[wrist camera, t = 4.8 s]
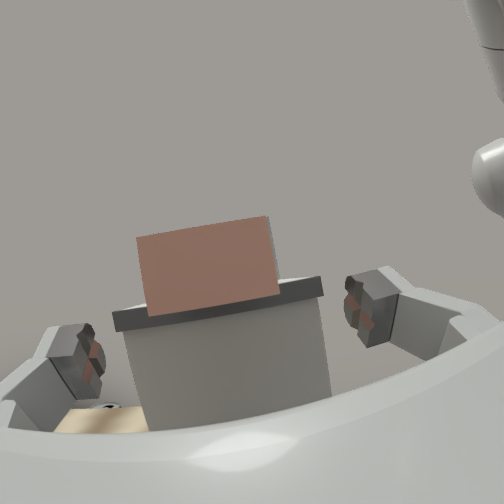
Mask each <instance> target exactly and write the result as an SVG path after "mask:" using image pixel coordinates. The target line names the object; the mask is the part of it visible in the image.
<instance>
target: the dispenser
mask: <svg viewBox="0 0 504 504" xmlns="http://www.w3.org/2000/svg"><path fill="white" fill-rule="evenodd" d="M266 220H267V225H268V230H269V236H270V241H271V246H272V252H273V257H274V262H275V268H276V273H277V279H278V284H279V290H280V294H277V295H272V296H267V297H262V298H256V299H251V300H246V301H240V302H235V303H229V304H223V305H218V306H212V307H206V308H200V309H194V310H188V311H182V312H176V313H169V314H163V315H156V316H150V317H149V316H148V310H147V305H146V304H142V305H138V306H134V307H130V308H127V309H123V310H119V311H114V312H112V315H113V320H114V325H115V330H116V332H121V331H123V335H124V340H125V345H126V349H127V353H128V358H129V362H130V366H131V370H132V374H133V378H134V381H135V385H136V389H137V392H138V396H139V400H140V403H141V406H142V410H143V413H144V416H145V419H146V423H147V426H148V429H149V432H150V431H162V430H173V429H182V428H190V427H198V426H205V425H211V424H218V423H224V422H230V421H235V420H240V419H246V418H251V417H255V416H260V415H265V414H269V413H274V412H278V411H282V410H286V409H290V408H294V407H298V406H302V405H305V404H309V403H312V402H316V401H319V400H323V399H326V398H329V397H332V394H331V386H330V379H329V371H328V364H327V357H326V350H325V343H324V337H323V330H322V324H321V317H320V311H319V305H318V300H317V297H320V296H324V294H323V289H322V283H321V277H320V276H315V277H306V278H294V279H281V280H280V275H279V270H278V265H277V259H276V254H275V249H274V243H273V238H272V232H271V227H270V222H269V217H266Z"/></svg>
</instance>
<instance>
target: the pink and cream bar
mask: <svg viewBox="0 0 504 504" xmlns="http://www.w3.org/2000/svg"><path fill="white" fill-rule="evenodd" d="M136 239H137V247H138V254H139V262H140V268H141V274H142V281H143V288H144V294H145V299H146V305H147V310H148V316H149V317H150V316H156V315H163V314H169V313H176V312H182V311H188V310H194V309H200V308H206V307H212V306H218V305H223V304H229V303H235V302H240V301H246V300H251V299H256V298H262V297H267V296H272V295H277V294H280V290H279V284H278V279H277V273H276V268H275V262H274V257H273V252H272V246H271V241H270V236H269V230H268V225H267V220H266V216H261V217H254V218H248V219H241V220H235V221H229V222H223V223H217V224H211V225H205V226H199V227H193V228H187V229H181V230H175V231H170V232H164V233H159V234H153V235H148V236H142V237H137V238H136Z"/></svg>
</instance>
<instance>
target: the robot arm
mask: <svg viewBox="0 0 504 504" xmlns="http://www.w3.org/2000/svg"><path fill="white" fill-rule="evenodd" d="M463 3H464V5H465V8H466V11H467V13H468V16H469V19H470V22H471V24H472V27H473V29H474V32H475V34H476V37H477V39H478V42H479V45H480V47H481V50H482V52H483V55H484V58H485V60H486V63H487V66H488V69H489V72H490V75H491V78H492V81H493V84H494V87H495V90H496V93H497V94H498V96H499V98H500V99H501V100H502V102H503V103H504V0H463ZM471 173H472V182H473V186H474V189H475V191H476V193H477V195H478V197H479V199H480V200H481V201H482V202H483V204H484V205H485V206H486V207H487V208H488V209H490V210H491V211H493V212H494V213H496V214H498V215H500V216H501V217H503V218H504V137H503V138H499V139H497V140H495V141H493V142H491V143H489V144H487V145H485V146H484V147H482V148H480V149H479V150H477V151H476V153H475V155H474V158H473V162H472V169H471ZM345 289H346V290H347V291H348V295H347V296H346V298H345V299H344V312H345V317H346V319H347V321H348V323H349V324H350V326H351V327H353V328H355V329H358V334H357V335H358V337H359V338H360V339H361V341H362V342H363V344H364V345H365V346H366V348H369V347H372V346H375V345H379V344H382V343H385V342H388V341H390V343H392V344H394V345H396V346H398V347H400V348H401V349H404V350H405V351H407V352H409V353H411V354H413V355H415V356H417V357H419V358H421V359H423V360H425V362H423V363H421V364H419V365H416V366H414V367H412V368H409V369H407V370H405V371H402V372H400V373H397V374H395V375H392V376H390V377H387V378H385V379H382V380H380V381H377V382H374V383H371V384H369V385H366V386H363V387H360V388H357V389H354V390H351V391H349V392H345V393H342V394H339V395H336V396H333V397H329V398H326V399H323V400H319V401H316V402H312V403H309V404H305V405H302V406H298V407H294V408H290V409H286V410H282V411H278V412H274V413H269V414H265V415H260V416H255V417H251V418H246V419H240V420H235V421H230V422H224V423H218V424H211V425H205V426H198V427H190V428H182V429H173V430H162V431H150V432H135V433H105V434H87V433H58V432H54V430H55V429H56V428H57V426H58V425H59V424H60V422H61V421H62V420H63V418H64V417H65V416H66V415H67V413H68V412H69V411H70V409H71V408H72V407H73V405H74V404H75V403H76V400H84V399H98V398H99V396H100V392H101V386H102V382H101V380H100V377H101V375H102V374H104V373H105V368H106V360H105V355H104V351H103V349H102V347H101V345H100V344H99V343H97V342H96V341H95V340H94V336H95V332H94V330H93V328H92V326H91V325H89V324H88V323H84V324H73V325H63V326H54V327H50V328H47V330H46V332H45V334H44V336H43V338H42V340H41V342H40V344H39V346H38V348H37V350H36V352H35V354H34V356H33V358H32V359H28V360H27V361H26V362H24V363H23V364H22V365H21V366H19V367H18V368H17V369H16V370H15V371H13V372H12V373H11V374H10V375H9V376H8V377H6V378H5V379H4V380H3V381H2V382H0V504H504V320H503V321H501V322H499V321H498V320H497V319H496V318H495V317H493V316H492V315H491V314H490V313H489V312H488V311H486V310H485V309H484V308H483V307H482V306H480V305H479V304H475V303H472V302H469V301H465V300H462V299H458V298H455V297H451V296H448V295H444V294H441V293H437V292H433V291H430V290H427V289H423V288H420V287H419V288H415V287H413V286H412V285H411V284H410V283H409V282H408V281H406V280H405V279H404V278H403V277H402V276H401V275H399V274H398V273H397V272H396V271H394V269H392V268H391V267H389V266H385V267H381V268H377V269H374V270H371V271H367V272H363V273H360V274H355V275H351V276H348V277H347V279H346V282H345Z"/></svg>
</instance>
